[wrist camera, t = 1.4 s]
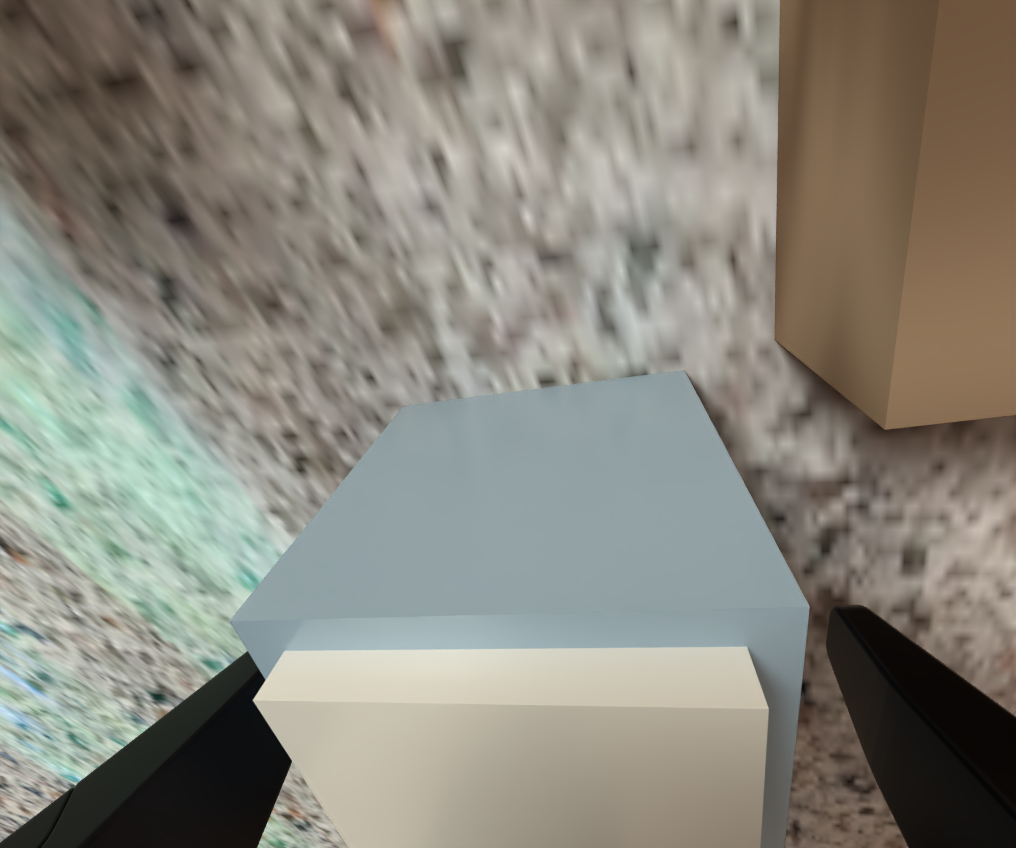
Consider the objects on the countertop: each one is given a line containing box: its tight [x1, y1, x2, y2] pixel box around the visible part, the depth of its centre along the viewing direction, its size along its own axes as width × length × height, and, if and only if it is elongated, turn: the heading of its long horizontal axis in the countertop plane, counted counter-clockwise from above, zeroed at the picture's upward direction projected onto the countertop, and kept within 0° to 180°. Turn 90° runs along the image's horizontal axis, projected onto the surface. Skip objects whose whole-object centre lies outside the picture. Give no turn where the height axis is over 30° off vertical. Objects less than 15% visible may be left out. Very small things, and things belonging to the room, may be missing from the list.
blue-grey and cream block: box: [230, 370, 810, 848], centre depth 8 cm, size 6×6×7 cm
